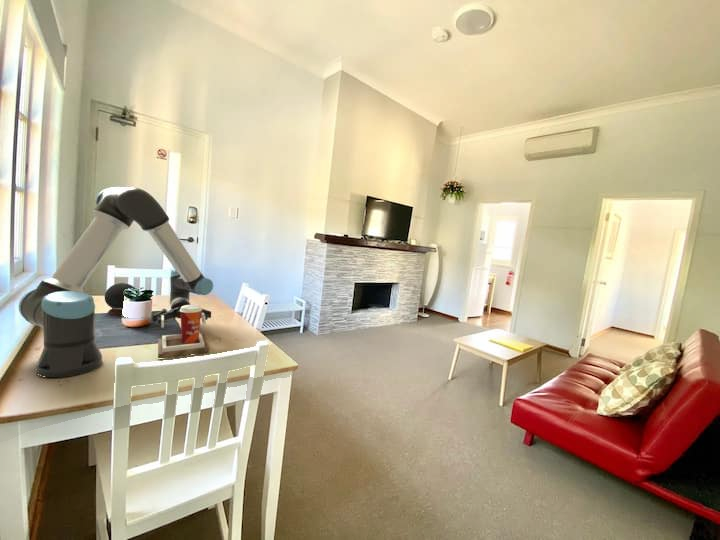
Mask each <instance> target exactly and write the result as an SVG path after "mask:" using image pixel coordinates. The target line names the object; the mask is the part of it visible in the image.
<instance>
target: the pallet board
mask: <svg viewBox="0 0 720 540" xmlns="http://www.w3.org/2000/svg"><path fill="white" fill-rule="evenodd" d="M209 351H210V348H209V345H208V343H207V340H206V337H205V334H202V332H201V331H199V338H198V342H197V343H194V344H183V343H182V335H181V333H178V334H166V335H161V338H158V339H157V359H158V358H167V359H173V358H172V357H174V358H175V359H176V358H180V357H179V356H183V357H188V356H187V355H190V356H192V355H191V354H198V355H203V354H204V353H205V354H209V353H210V352H209ZM205 354H204V355H205Z"/></svg>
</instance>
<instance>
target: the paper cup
mask: <svg viewBox="0 0 720 540" xmlns="http://www.w3.org/2000/svg"><path fill="white" fill-rule="evenodd" d="M201 308H202V307H201V305H199V304H190V305H185V306H182V307H181V309H180V312H181V318H180V331H181V333H180V334H181V335H182V343H183V344H194V343H197V342H198V338H199V332H200V327H201V311H202V309H203V308H202V309H201Z"/></svg>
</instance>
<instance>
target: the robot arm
mask: <svg viewBox="0 0 720 540" xmlns="http://www.w3.org/2000/svg"><path fill="white" fill-rule="evenodd" d="M95 204H96V206H95V207H94V209H93V210H92V212H91V213H92V214H93V216H94V217H93V219H92V221H91V222H90V223H89V225H88V226H87V227H86V228H85V230H84V231H83V233H82V235H81V236H80V237H79V238H78V240H77V241H76V243H75V244H74V245H73V247H72V248H71V249H70V251H69V252H68V254H67V255H66V257H65V258H64V259H63V261H62V263H61V264H60V265H59V267H58V268H57V269H56V271H55V272H54V273H53V274H52V276H51V277H50V278H46V279H42V280H41V282H40V283H39V284H38V285H37V286H36V287H35V288H34V289H33V290H30V291H28V292H27V293H25V294H24V295H23V296H22V297H21V299H20V301H19V303H18V311H19V313H20V315H21V316H22V317H23V318H24V319H25V321H26V322H28V323H30V324H31V325H35V326H37V327H40V328H41V329H42V330H43V332H42V333H43V334H42V335H43V348H42V351H41V353H40V357H39V359H38V361H37V364H36V367H35V368H36V369H35V370H36V371H35V372H37V373H36V375H37V374H39V375H41V376H45V377H63V378H68V377H67V376H69V377H75V376H77V374H79V375H82V374H81V373H83V374H85V373H84V372H86V373H88V371H89V372H91V371H93V370H95V369H97V368H98V367H97V366H99V365H100V364H101V363H102V364H103V355H102V352H101V351H100V348H99V346H98V343H97V342H96V333H95V331H96V327H95V326H96V321H95V317H96V316H95V315H96V314H95V309H96V304H95V300H94V297H93V295H91V294H89V293H87V292H85V291H84V287H85V285H86V284H87V282H88V281H89V280H90V278H91V276H92V275H93V274H94V272H95V270H96V269H97V267H98V266H99V265H100V263H101V262H102V260H103V258H104V257H105V256H106V254H107V253H108V251H109V250H110V248H111V247H112V245H113V243H114V242H115V241H116V239H117V238H118V236H119V234H121V232H122V231H124V230H129V229H130V227H131V226H132V225H133V223H134V222H135V223H136V224H137V225H139V226H140V228H141V229H142V231H145V232H148V234H149V235H150V236H151V238H152V239H153V241H154V242H155V243H156V245H157V246H158V247H159V249H160V250H161V252H162V253H163V254H164V256H165V257H166V258H167V261H168V262H169V263H170V264H171V265H172V267H173V268H172V269H171V270H170V277H169V278H170V282H169V283H170V293H169V296H170V297H169V306H170V309H169V310H168V309H166V308H162V309H161V310H160V311H158V312H156V313H154V314H152V315H151V321H152V323H156V322H157V325H158V324H159V325H160V324H161V328H165V321H168V320H170V319H181V312H180V309H181V307H182V306H185V305H191V303H190V293H192V294H195V295H198V296H200V295H201V296H207V295H209V294H211V292H213V289H214V283H213V281H212V280H211V279H210V278H208V277H205V276H204V274H203V273H202V271H201V270H200V269H199V267H198V265H197V264H196V263H195V261H194V259H193V258H192V256H191V255H190V253H189V252H188V250H187V249H186V247H185V246H184V244H183V243H182V241H181V239H180V238H179V237H178V234H177V233H176V232H175V230H174V229H173V227H172V225H170V223H169V222H170V218H169V216H168V215H167V213H166V211H165V210H164V208H163V207H162V206H161V204H160V203H159V202H158V200H157V199H155V198H154V196H152V194H151V193H149V192H147V191H146V190H144V189H141V188H138V187H122V186H112V187H107V188H105V189H103V190H101V191H100V192H99V193H98V194H97V196H96V199H95ZM201 309H202V311H201V318H200V321H201V323H202V324H203V325H206V321H207V320H208V319H211V318H212V311H210V310H206V309H204V308H202V307H201ZM102 364H101V365H102ZM101 365H100V366H101ZM100 366H99V367H100ZM96 367H97V368H96ZM94 368H95V369H94ZM92 369H93V370H92ZM90 370H91V371H90ZM74 375H75V376H74Z"/></svg>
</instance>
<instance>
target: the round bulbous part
mask: <svg viewBox="0 0 720 540" xmlns="http://www.w3.org/2000/svg"><path fill="white" fill-rule="evenodd" d="M128 288H133V289H136V287H135V286H134V285H131V284H130V283H125V282H121V283H120V282H118V283H116V284H112V285H111V286H109V288H107V290H106V291H105V293H104V301H105V303H106V304H107V306H109V308H110V309H109V310H108V311H107V315H108V314H109V315H115V316H114V317H122V316H121V315H122V309H123V301H124V295H123V291H124V290H125V289H128ZM109 315H108V316H109Z"/></svg>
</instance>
